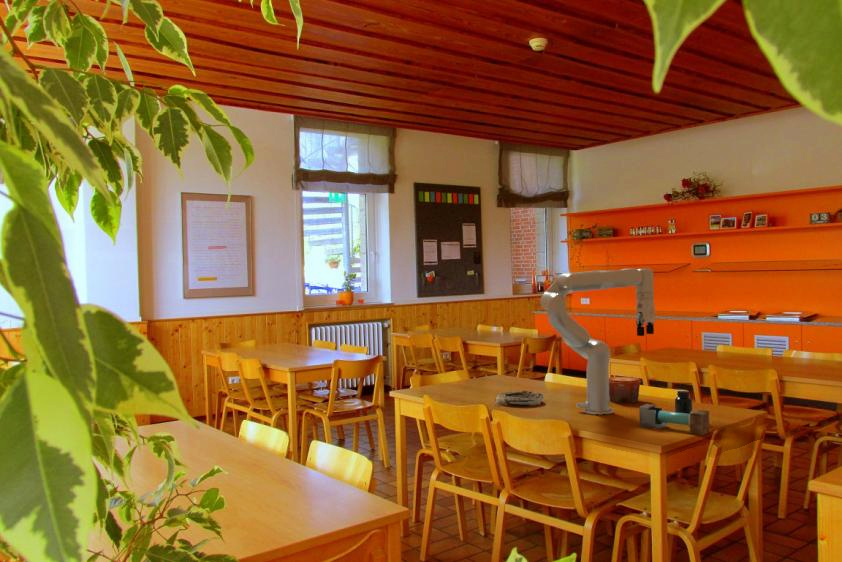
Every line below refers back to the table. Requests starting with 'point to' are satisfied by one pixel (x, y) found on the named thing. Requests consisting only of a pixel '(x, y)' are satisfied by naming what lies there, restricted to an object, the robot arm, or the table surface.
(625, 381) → the food container
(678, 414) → the tube
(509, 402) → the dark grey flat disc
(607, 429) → the table surface
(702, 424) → the socket block
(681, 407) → the supplement bottle
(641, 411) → the sleeve
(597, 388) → the robot arm
